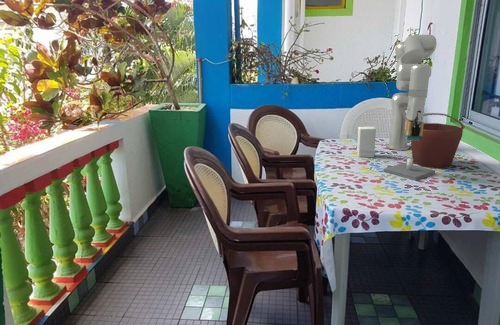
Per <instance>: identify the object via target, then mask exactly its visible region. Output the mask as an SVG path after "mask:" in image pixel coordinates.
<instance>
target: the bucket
mask: <svg viewBox="0 0 500 325" xmlns="http://www.w3.org/2000/svg"><path fill="white" fill-rule="evenodd" d="M425 116H426V117H427V116H445V117H447V118H450V119H452V120H454V121H456V122H457V123H458V124H459V125H460V126H461V127H459V126H458V125H453V124H444V123H439V122H433V123H431V122H426V123H425V122H424V125H423V134H422V141H418V140H410V146H411V156H412V157H411V159H413V164H414V165H416V166H417V165H418V167H422V168H427V169H437V170H439V169H440V170H441V169H446V168H450V167H451V166H452V164H453V161H454V158H455V156H456V154H457V151H458V148H459V145H460V142H461V140H462V139H463V133H464V131H463V130H464V129H465V127H466V126H465V125H464V123H462V122H461V120H459V119H457V118H455V117H453V116H451V115H449V114H446V113H439V112H428V113H424V115H423V117H425ZM416 120H417V119H416Z"/></svg>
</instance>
